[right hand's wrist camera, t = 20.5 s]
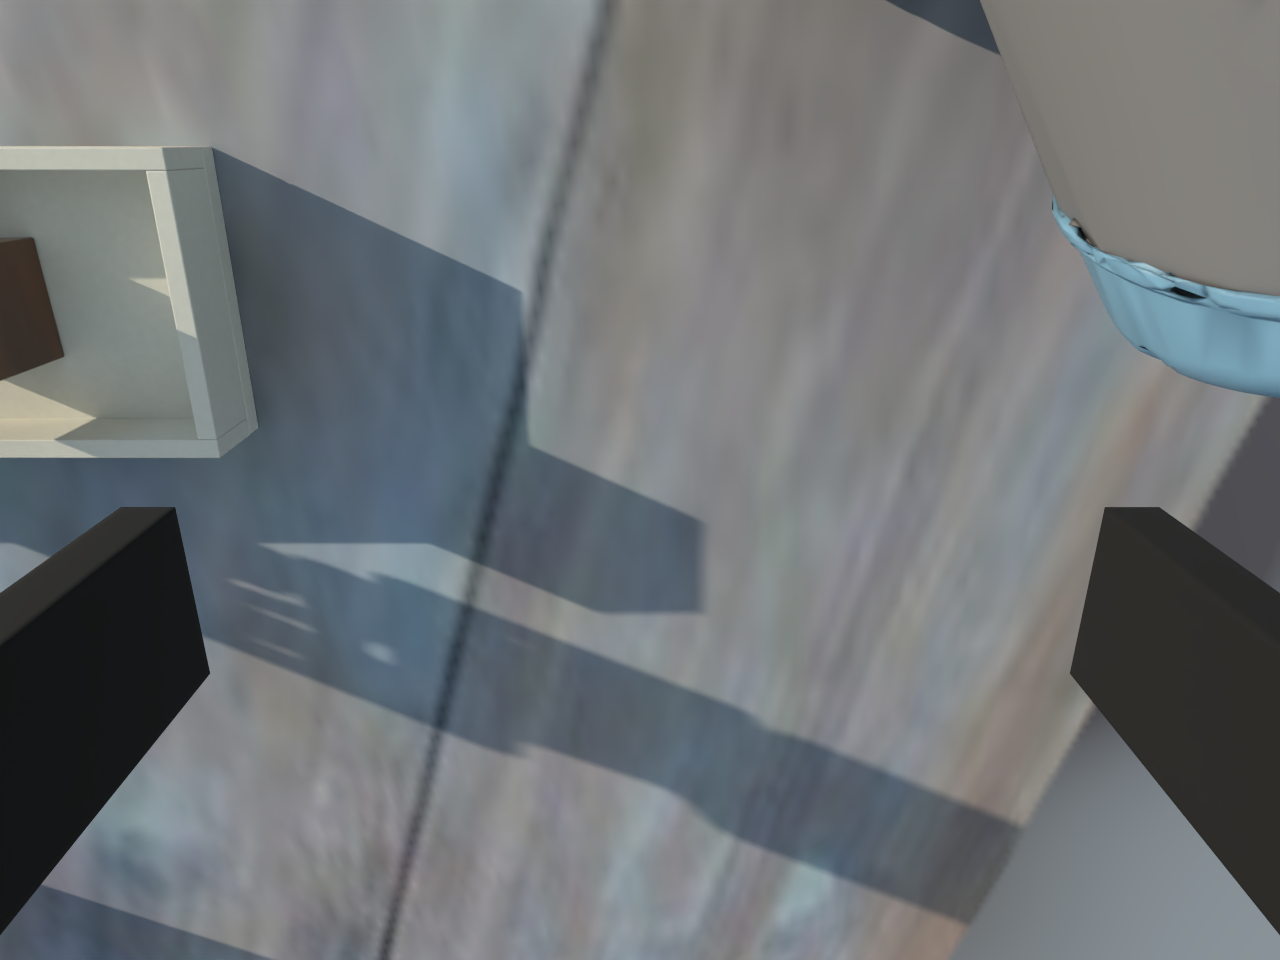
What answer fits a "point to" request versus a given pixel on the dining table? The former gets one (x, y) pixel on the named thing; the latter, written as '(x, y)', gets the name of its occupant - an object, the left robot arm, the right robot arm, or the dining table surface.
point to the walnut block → (24, 310)
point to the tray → (127, 305)
